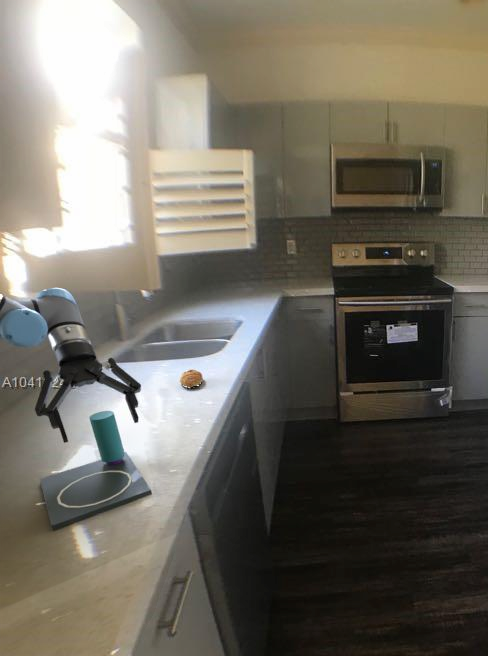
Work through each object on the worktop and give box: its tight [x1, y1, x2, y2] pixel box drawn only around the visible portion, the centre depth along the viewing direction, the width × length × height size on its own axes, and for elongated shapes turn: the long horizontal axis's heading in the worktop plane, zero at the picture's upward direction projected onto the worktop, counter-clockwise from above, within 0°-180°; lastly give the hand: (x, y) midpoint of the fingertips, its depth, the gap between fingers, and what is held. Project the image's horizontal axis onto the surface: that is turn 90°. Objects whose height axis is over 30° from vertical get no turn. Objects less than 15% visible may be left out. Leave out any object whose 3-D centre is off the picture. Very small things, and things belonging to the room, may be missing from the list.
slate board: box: [39, 451, 153, 531], centre depth 91 cm, size 20×16×1 cm
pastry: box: [179, 369, 204, 388], centre depth 143 cm, size 9×7×4 cm
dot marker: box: [89, 410, 125, 465], centre depth 97 cm, size 4×4×11 cm
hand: (102, 429), depth 99 cm, fingers open, 13 cm apart
